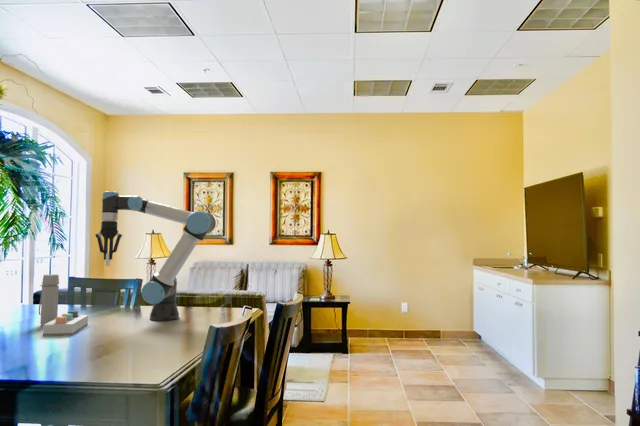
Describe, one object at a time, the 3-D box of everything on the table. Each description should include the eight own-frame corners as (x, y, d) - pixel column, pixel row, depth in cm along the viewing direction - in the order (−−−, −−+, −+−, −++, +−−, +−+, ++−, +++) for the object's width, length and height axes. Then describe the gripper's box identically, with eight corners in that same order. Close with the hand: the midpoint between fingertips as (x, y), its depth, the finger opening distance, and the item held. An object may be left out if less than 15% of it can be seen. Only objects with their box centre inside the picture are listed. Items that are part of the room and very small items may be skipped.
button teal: (73, 323, 207) (73, 313, 207) (70, 325, 202) (70, 315, 203) (63, 324, 206) (63, 313, 206) (59, 326, 201) (60, 315, 202)
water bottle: (60, 323, 219) (63, 274, 221) (49, 326, 211) (52, 275, 213) (44, 322, 220) (46, 274, 221) (32, 326, 212) (35, 275, 214)
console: (87, 325, 216) (88, 315, 216) (72, 335, 194) (72, 324, 195) (61, 325, 213) (61, 315, 214) (42, 336, 192) (43, 324, 192)
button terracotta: (67, 327, 199) (68, 316, 200) (64, 329, 195) (64, 318, 195) (57, 327, 198) (57, 316, 199) (53, 329, 194) (54, 318, 194)
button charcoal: (78, 320, 214) (79, 310, 214) (75, 322, 210) (76, 312, 210) (69, 321, 213) (69, 311, 213) (65, 322, 209) (66, 312, 209)
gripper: (124, 221, 230) (122, 265, 229) (98, 220, 228) (96, 265, 226) (121, 221, 223) (119, 266, 222) (93, 220, 220) (91, 266, 219)
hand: (107, 265), depth 224 cm, fingers closed
